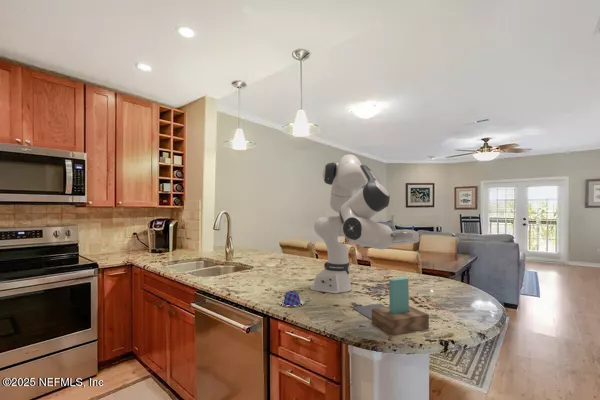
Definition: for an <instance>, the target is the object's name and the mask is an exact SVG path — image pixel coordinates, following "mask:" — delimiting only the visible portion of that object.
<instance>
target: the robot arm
mask: <svg viewBox="0 0 600 400" xmlns="http://www.w3.org/2000/svg"><path fill="white" fill-rule="evenodd" d="M322 178H323V181H324V183H325V184H327V185H329V186H331V189H330V199H329V206H330V208H331V210H333V212H336V213H338V214H339V215H336V216H330V215H329V216H328V215H327V216H321V217H318V218H316V220H315V221H314V223H313V224H314V225H313V228H314V232H315V234H316V235H317V236H319V237H320V238H321V239H322V240H323V242H324V243H325V246H326V250H327V251H326V252H327V260H326V261H325V262H324V264H323V267H324V269H322V270H321V271H320V272H319V273H317V274H315V277H314V281H313V283H311V284H310V286H309V290H311V291H317V292H324V293H329V294H339V293H347V292H351V291H352V290H353V287H352V284H351V278H350V272H351V271H350V270H351V269H350V268H351V267H350V262H349V248H348V247H347V245H345V243H342V242H340V241H339V238H340V237H346V238H347V239H348V240H349V241H351V242H352V243H355V244H357V245H359V247H360V248H362V249H371V248H372V249H375V250H376V249H377V250H386V249H388V248H390V246H395V245H396V246H397V245H398V246H399V245H405V244H416V243H419V242H420V234H419V232H418V231H416V230H413V229H412V230H411V229H397V230H392V228H391V227H390V226H389V225H387V224H383V223H381V222H377V221H376V222H375V221H374V220H371V219H372V218H373V217H374V216H375V215H377V213H379V212H381V211H383V210H384V209H386V208H387V207H388V206H389V203H390V199H391V197H390V196H391V195H390V194H389V192H388V190H387V189H386V187H384V186H383V185H382V183H381V182H380V180H379V179H378V178H377V176H376V175H375V173H374V172H373V171H372V170H371V169H370V168H369V167H368V166H367V165H366V164H362V162H361V161H360V159H359V158H358V157H357V156H356V155H354V154H345V155H343V156H341V158H340V159H339V161H338V162H334V161H333V162H328V163H326V164H325V166H324V168H323V169H322ZM354 191H356V193H355V194H354V195H353V193H354ZM357 191H358V192H357ZM338 237H339V238H338Z"/></svg>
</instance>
